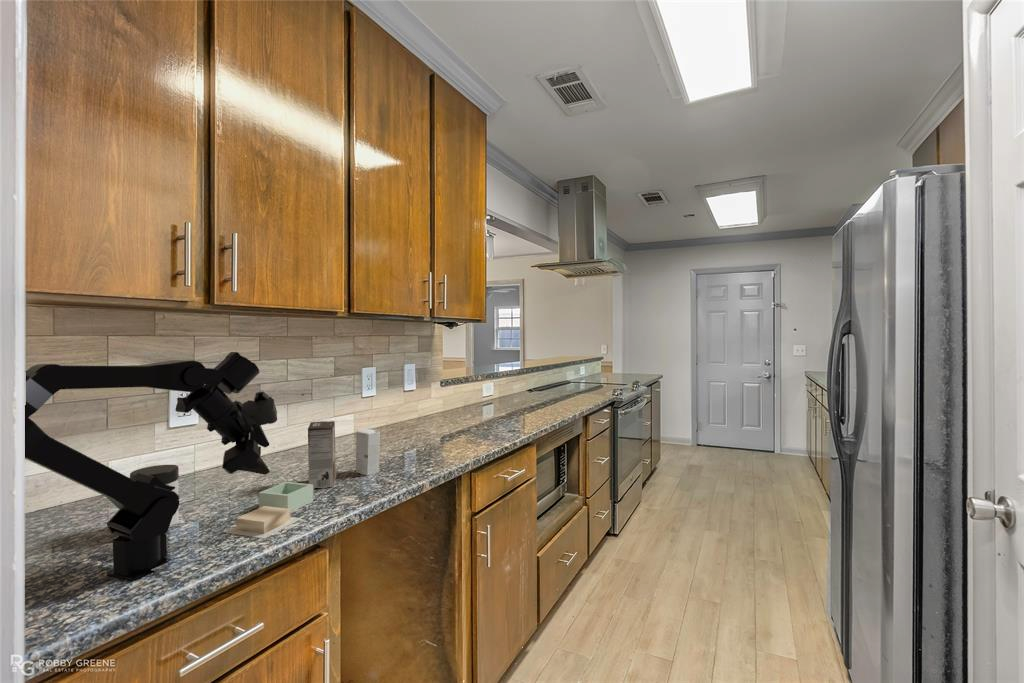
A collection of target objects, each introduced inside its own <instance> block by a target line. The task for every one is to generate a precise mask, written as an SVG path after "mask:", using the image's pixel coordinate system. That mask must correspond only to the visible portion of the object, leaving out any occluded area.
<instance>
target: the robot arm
mask: <svg viewBox="0 0 1024 683" xmlns="http://www.w3.org/2000/svg"><path fill="white" fill-rule="evenodd" d="M25 372H26V405H25V458H24V460H27V461H29V462H31V463H33V464H36V465H38V466H40V467H42V468H44V469H46V470H48V471H51V472H53V473H55V474H57V475H59V476H60V477H63V478H66V479H67V480H70V481H72V482H74V483H77V484H78V485H80V486H83V487H85V488H87V489H90V490H91V491H93V492H96V493H97V494H100V495H102V496H104V497H106V498H107V499H108V500H109V501H110V502H111V503H112V504H113V506H115V507H116V508H117V509H119V510H118V511H117V512H116V513H115V514H114V515H113V516H112V517H111V518H110V519H109V520H108V521H107V522H106V526H107V528H108V530H109V532H110V533H111V534H112V535H116V536H117V537H116V538H113V539H112V564H113V567H112V569H111V570H108V571H107V572H106V575H107V576H109V577H114V578H118V579H124V580H129V581H135V580H137V579H140V578H141V577H144V576H146V575H148V574H150V573H152V572H154V569H156V568H158V567H161V566H162V565H165V564H167V563H168V562H171V561H172V558H167V556H168V546H167V545H168V544H167V542H168V541H167V540H168V538H167V533H168V530H169V528H170V527H171V526H170V523H171V520H172V517H173V515H174V514H175V513H176V511H177V509H178V507H179V508H180V496H178V495H179V493H178V494H176V493H175V492H174V491H172V490H173V489H175V487H174V486H170V485H166V484H164V483H163V482H161V481H160V480H159V479H158V478H156V477H154V476H150V475H146V474H142V473H137V474H136V476H135V478H134V479H131V478H130V476H127V475H125V474H122V473H120V472H118V471H117V470H114V469H113V468H111V467H109V466H108V465H105V464H103V463H101V462H99V461H97V460H96V459H93V458H92V457H90V456H88V455H86V454H84V453H82V452H80V451H78V450H76V449H74V448H72V447H70V446H69V445H66V444H65V443H63V442H61V441H59V440H57V439H55V438H52V437H50V436H49V434H47V433H46V432H45V431H44V430H43V429H41V427H40V426H39V425H38V424H36V421H34V420H32V419H31V418H30V417H31V416H32V415H34V414H35V413H37V411H39V410H40V408H41V407H43V406H44V404H46V402H48V401H49V399H51V397H52V396H54V394H56V393H58V392H59V391H60V390H82V389H83V390H87V389H114V388H115V389H116V388H117V389H120V388H150V389H155V390H157V389H158V390H164V391H165V390H166V391H172V392H184V393H185V392H186V393H188V394H187V395H186V396H184V397H177V398H176V401H177V403H176V405H175V412H177V413H183V414H184V413H185V414H188V413H190V412H191V411H192V410H193V412H195V413H196V414H197V415H198V416H199V417H201V419H202V420H204V421H205V423H207V426H206V430H208V431H209V432H210V433H211V432H214V431H216V433H217V434H218V435H219V436H220V437H221V441H220V442H221V444H222V445H224V446H226V445H229V444H230V443H233V444H234V443H235V444H234V445H233V446H232V447H231V448H228V449H226V450H225V451H224V453H223V458H222V466H221V467H222V469H223V470H224V471H225V472H226V473H227V474H230V475H231V474H234V473H236V472H238V471H240V472H241V471H242V472H247V473H248V472H250V473H253V474H259V475H263V476H265V475H268V474H269V473H270V469H269V467H268V466H267V464H266V463H265V462H264V460H263V459H262V457H261V455H262V452H261V451H262V449H261V448H262V447H263V448H267V447H269V446H270V442H269V439H268V438H267V436H266V434H265V431H264V430H263V427H262V426H264V425H268V424H270V425H271V424H275V423H276V422H277V421H278V411H277V407H276V405H275V399H274V398H273V397H272V396H269V395H268V394H266V392H265V391H258V392H255V395H254V397H253V400H249V399H248V400H246V401H245V402H243V403H242V402H241V401H238V400H235V401H233V400H232V399H231V398H230V397H229V396H228V395H231V394H232V393H233V394H239V393H241V392H242V391H243V390H244V389H245V388H246V387H247V386H248V385H249V384H250V383H251V382H252V381H253V380H254V379H255V378H256V377H257V376H258V375H259V374H260V368H259V367H258V366H257V364H256V363H255V362H252V361H251V360H250V359H248V358H247V357H245V356H243V355H242V354H240V352H237V351H231V352H229V353H228V354H227V355H226V356H225V358H224V359H223V360H221V362H219V363H218V364H217V365H216V366H215V367H214V368H210V367H209V368H208V367H205V365H204V364H203V363H202V362H201V361H196V360H189V359H188V360H186V359H184V360H183V359H182V360H181V359H174V360H173V359H172V360H165V361H158V362H153V363H152V362H151V363H148V364H141V365H76V364H75V365H73V364H71V365H66V364H65V365H63V364H62V365H60V364H56V363H54V364H53V363H36V364H34V365H32V366H30V367H29V368H28V369H27V370H26V371H25ZM227 394H228V395H227Z"/></svg>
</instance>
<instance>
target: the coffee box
mask: <svg viewBox="0 0 1024 683" xmlns="http://www.w3.org/2000/svg"><path fill="white" fill-rule="evenodd" d="M335 425H336V421H335V420H331V421H323V420H321V421H312V422H310V424H309V425H308V428H307V447H308V448H307V452H308V453H307V457H308V458H307V460H308V464H307V465H308V484H313V490H315V489H314V488H322V489H328V488H327V487H332V488H334V487H335V484H336V478H337V477H336V475H337V474H336V473H337V471H336V470H337V468H336V466H337V464H336V433H335V432H336V429H335V428H336V426H335ZM325 487H326V488H325Z"/></svg>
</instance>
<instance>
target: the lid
mask: <svg viewBox="0 0 1024 683" xmlns="http://www.w3.org/2000/svg"><path fill="white" fill-rule="evenodd" d="M291 514H292V512H291V509H285V508H277V507H269V506H263V507H261V508H259V507H258V508H256V509H254V510H251V511H250V512H247V513H245V514H243V515H240V516H239V517H236V519H235V520H236V523H235V524H236V525H235V527H236V529H237V530H240V531H247V532H253V533H260V534H265V533H267V532H269V531H271V530H273V529H275V528H277V527H279V526H281V525H283V524H285V523H287V522H288V521H290V520H291V517H292V515H291Z"/></svg>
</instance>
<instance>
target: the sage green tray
mask: <svg viewBox="0 0 1024 683" xmlns="http://www.w3.org/2000/svg"><path fill="white" fill-rule="evenodd" d="M313 502H314V489H313V484H309V483H302V482H301V483H300V482H291V481H284V482H282V483H279V484H277V485H274V486H271V487H269V488H267V489H264V490H262V491H260V492H258V508H261V507H263V506H269V507H277V508H285V509H291V513H292V512H294V511H296V510H298V509H300V508H302V507H304V506H306V505H308V504H310V503H313Z"/></svg>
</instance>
